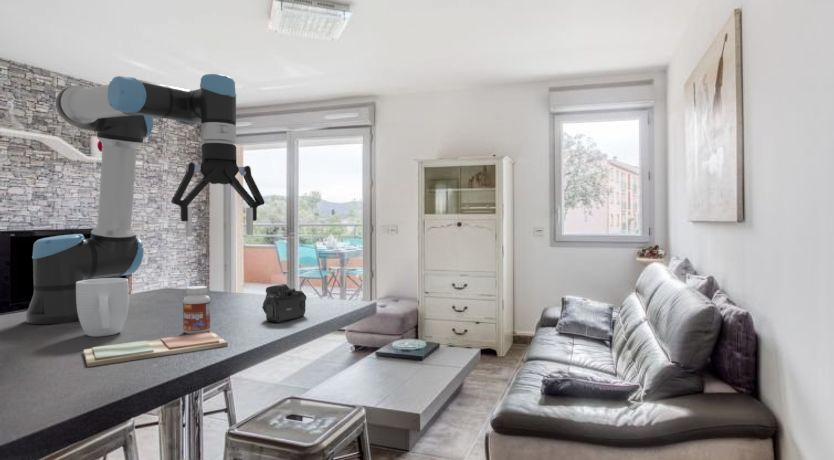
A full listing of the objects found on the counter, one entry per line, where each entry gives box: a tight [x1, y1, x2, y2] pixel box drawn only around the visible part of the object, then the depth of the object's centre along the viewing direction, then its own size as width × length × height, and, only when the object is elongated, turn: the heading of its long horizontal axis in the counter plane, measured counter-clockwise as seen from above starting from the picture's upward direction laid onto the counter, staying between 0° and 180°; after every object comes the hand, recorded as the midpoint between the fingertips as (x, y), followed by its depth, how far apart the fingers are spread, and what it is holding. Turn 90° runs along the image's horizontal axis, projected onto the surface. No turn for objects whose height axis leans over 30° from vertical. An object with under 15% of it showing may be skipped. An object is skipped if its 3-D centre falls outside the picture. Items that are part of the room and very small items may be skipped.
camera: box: [262, 283, 307, 323], centre depth 141 cm, size 13×10×10 cm
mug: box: [76, 277, 130, 338], centre depth 122 cm, size 15×11×13 cm
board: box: [83, 331, 229, 368], centre depth 109 cm, size 12×26×1 cm, turn 126°
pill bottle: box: [182, 285, 211, 335], centre depth 126 cm, size 6×6×11 cm
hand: (220, 235), depth 118 cm, fingers open, 13 cm apart
